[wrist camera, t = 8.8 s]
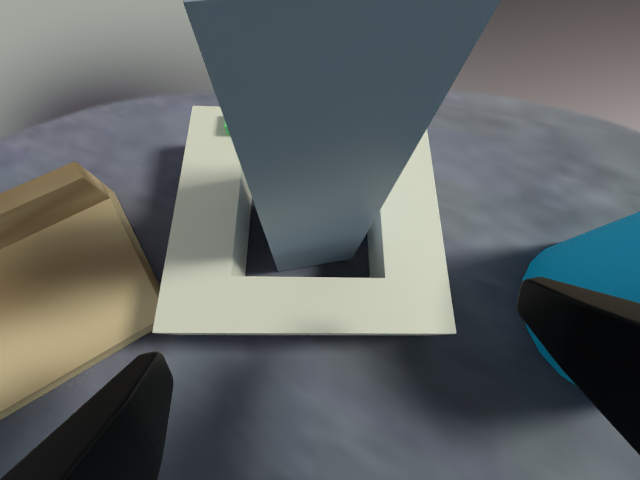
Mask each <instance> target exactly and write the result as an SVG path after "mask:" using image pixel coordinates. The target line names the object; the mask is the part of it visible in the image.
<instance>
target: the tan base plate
mask: <svg viewBox="0 0 640 480" xmlns="http://www.w3.org/2000/svg"><path fill="white" fill-rule="evenodd" d="M159 292H160V285H159V283H158V281H157V279H156V277H155V275H154V273H153V271H152V269H151V267H150V265H149V263H148V260H147V258H146V256H145V254H144V252H143V250H142V248H141V246H140V244H139V242H138V240H137V238H136V236H135V234H134V232H133V230H132V228H131V225H130V223H129V221H128V219H127V217H126V215H125V213H124V211H123V209H122V207H121V205H120V203H119V201H118V199H117V197H116V195H115V193H114V192H113V191H112V190H111V189H109V188H108V187H107V186H106V185H104V184H103V183H102V182H101V181H99V180H98V179H97V178H96V177H94V176H93V175H92V174H91V173H89V172H88V171H87V170H86V169H84V168H83V167H82V166H81V165H79V164H78V163H77V162H76V161H75V162H73V163H70V164H68V165H66V166H63V167H61V168H59V169H56V170H54V171H52V172H49V173H47V174H45V175H42V176H40V177H38V178H36V179H33V180H31V181H29V182H26V183H24V184H22V185H19V186H17V187H15V188H12V189H10V190H8V191H5V192H3V193H1V194H0V420H1V419H3V418H5V417H6V416H8V415H10V414H12V413H13V412H15V411H17V410H18V409H20V408H22V407H23V406H25V405H27V404H29V403H30V402H32V401H34V400H35V399H37V398H39V397H40V396H42V395H44V394H46V393H47V392H49V391H51V390H52V389H54V388H56V387H57V386H59V385H61V384H63V383H64V382H66V381H68V380H69V379H71V378H73V377H74V376H76V375H78V374H80V373H81V372H83V371H85V370H86V369H88V368H90V367H91V366H93V365H95V364H97V363H98V362H100V361H102V360H103V359H105V358H107V357H108V356H110V355H112V354H114V353H115V352H117V351H119V350H120V349H122V348H124V347H125V346H127V345H129V344H131V343H132V342H134V341H136V340H137V339H139V338H141V337H142V336H144V335H146V334H148V333H149V332H151V331H153V326H154V320H155V314H156V309H157V303H158V298H159Z"/></svg>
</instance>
